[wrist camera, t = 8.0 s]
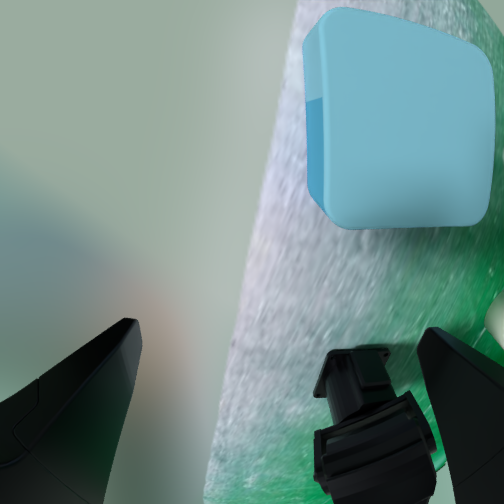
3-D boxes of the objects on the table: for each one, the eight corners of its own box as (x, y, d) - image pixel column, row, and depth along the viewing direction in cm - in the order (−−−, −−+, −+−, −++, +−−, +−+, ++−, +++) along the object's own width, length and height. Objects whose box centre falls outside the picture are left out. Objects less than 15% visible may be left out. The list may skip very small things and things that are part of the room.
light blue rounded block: (453, 57, 14) (299, 27, 14) (491, 52, 10) (316, 1, 10) (450, 206, 19) (306, 207, 19) (486, 227, 15) (323, 232, 15)
